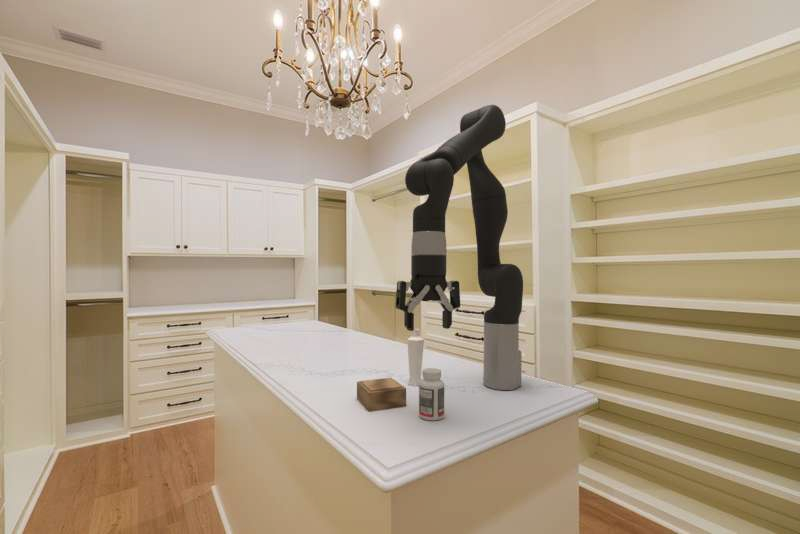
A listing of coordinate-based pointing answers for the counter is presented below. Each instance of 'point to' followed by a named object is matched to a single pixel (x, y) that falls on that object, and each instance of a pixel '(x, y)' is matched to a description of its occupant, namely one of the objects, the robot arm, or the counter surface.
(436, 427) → the counter surface
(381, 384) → the base block
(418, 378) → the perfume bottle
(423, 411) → the pill bottle
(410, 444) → the counter surface
